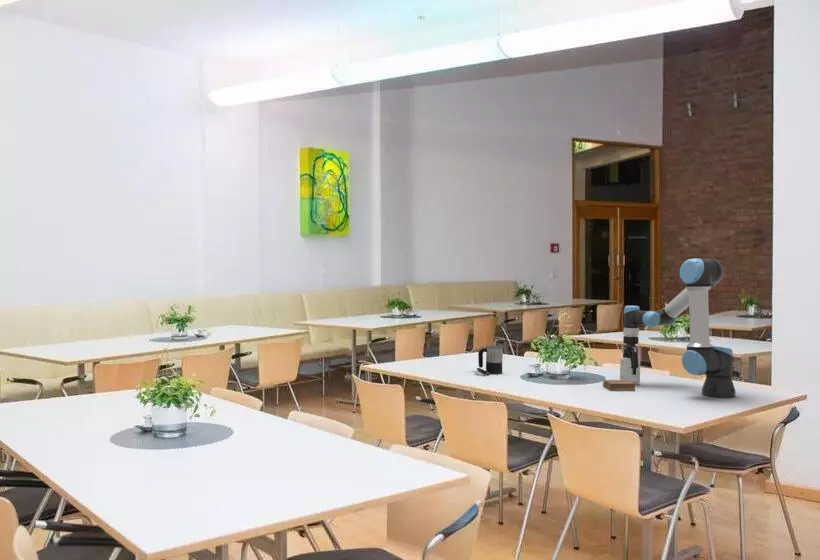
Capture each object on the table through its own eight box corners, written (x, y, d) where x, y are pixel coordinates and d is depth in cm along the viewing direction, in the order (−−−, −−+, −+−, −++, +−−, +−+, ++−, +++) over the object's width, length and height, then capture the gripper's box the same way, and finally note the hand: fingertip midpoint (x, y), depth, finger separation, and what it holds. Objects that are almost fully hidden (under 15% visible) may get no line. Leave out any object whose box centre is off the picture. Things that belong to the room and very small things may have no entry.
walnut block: (634, 391, 397) (635, 383, 397) (610, 391, 396) (610, 383, 396) (626, 387, 409) (626, 379, 409) (603, 387, 408) (603, 379, 408)
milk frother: (502, 372, 452) (503, 345, 452) (503, 376, 436) (503, 348, 436) (477, 371, 454) (477, 344, 453) (476, 375, 438) (476, 348, 438)
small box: (640, 384, 418) (640, 358, 418) (632, 385, 414) (633, 359, 414) (626, 382, 424) (627, 357, 424) (619, 383, 420) (620, 357, 420)
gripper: (646, 338, 407) (644, 382, 408) (630, 333, 430) (629, 376, 431) (631, 338, 407) (630, 382, 408) (616, 333, 429) (615, 376, 430)
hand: (629, 379), depth 419 cm, fingers closed on small box, 10 cm apart
